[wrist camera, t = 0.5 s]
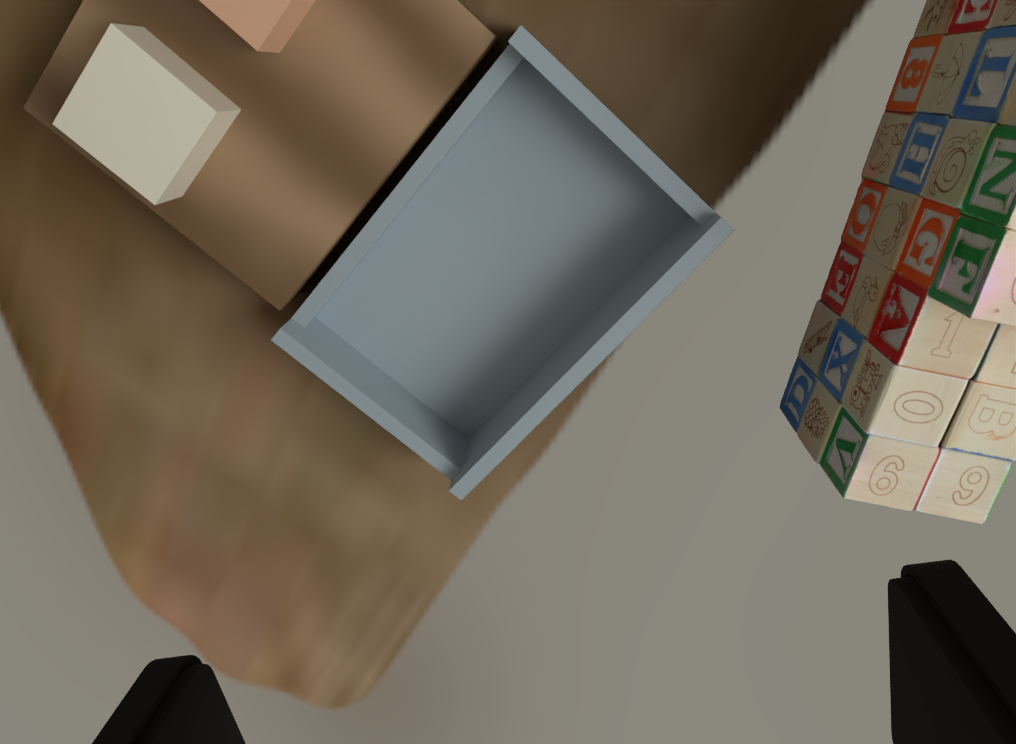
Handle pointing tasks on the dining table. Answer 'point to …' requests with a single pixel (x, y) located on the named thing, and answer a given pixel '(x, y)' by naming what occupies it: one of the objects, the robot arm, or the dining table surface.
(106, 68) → the cream tile
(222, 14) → the peach block
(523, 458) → the dining table surface
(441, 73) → the walnut board
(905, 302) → the stack of blocks
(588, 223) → the tray
